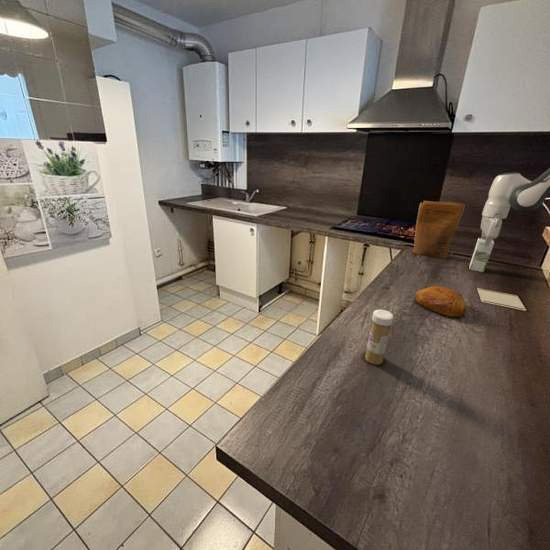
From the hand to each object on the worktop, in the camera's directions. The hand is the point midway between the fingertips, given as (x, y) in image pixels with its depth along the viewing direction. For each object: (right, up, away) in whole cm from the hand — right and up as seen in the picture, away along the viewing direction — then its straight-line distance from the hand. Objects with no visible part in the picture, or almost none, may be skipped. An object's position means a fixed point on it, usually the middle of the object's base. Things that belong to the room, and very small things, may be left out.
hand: (484, 243), depth 130 cm
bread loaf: (-36, -25, -29) cm, 53 cm away
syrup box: (0, -12, +5) cm, 13 cm away
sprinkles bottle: (-68, -36, -56) cm, 95 cm away
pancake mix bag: (-14, -4, +21) cm, 26 cm away
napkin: (-10, -23, -22) cm, 34 cm away
